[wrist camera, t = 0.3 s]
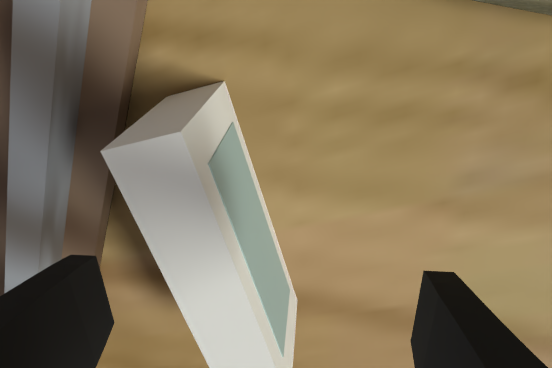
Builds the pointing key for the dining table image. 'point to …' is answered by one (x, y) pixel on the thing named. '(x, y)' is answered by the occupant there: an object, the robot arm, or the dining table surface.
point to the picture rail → (60, 125)
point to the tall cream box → (209, 227)
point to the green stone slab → (524, 5)
